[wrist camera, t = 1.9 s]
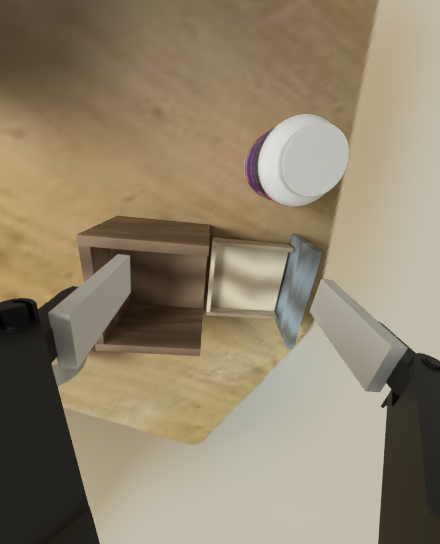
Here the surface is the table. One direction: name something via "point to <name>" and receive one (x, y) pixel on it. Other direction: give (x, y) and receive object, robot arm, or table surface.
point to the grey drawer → (263, 281)
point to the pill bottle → (297, 160)
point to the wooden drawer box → (152, 283)
